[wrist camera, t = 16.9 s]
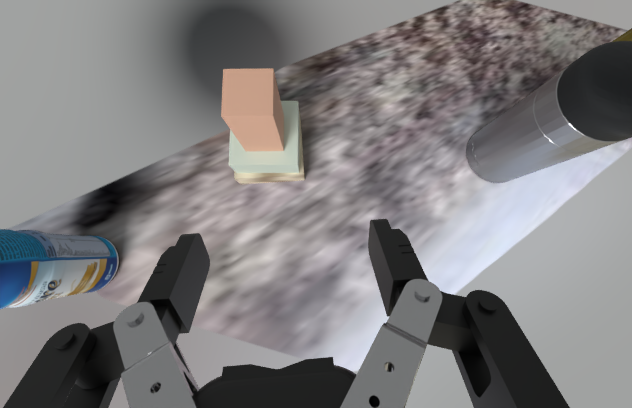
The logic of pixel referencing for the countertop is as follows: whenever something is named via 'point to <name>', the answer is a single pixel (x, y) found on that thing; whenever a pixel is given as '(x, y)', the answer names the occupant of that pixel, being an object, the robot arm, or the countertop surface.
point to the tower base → (274, 177)
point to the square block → (253, 108)
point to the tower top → (270, 159)
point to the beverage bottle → (52, 266)
